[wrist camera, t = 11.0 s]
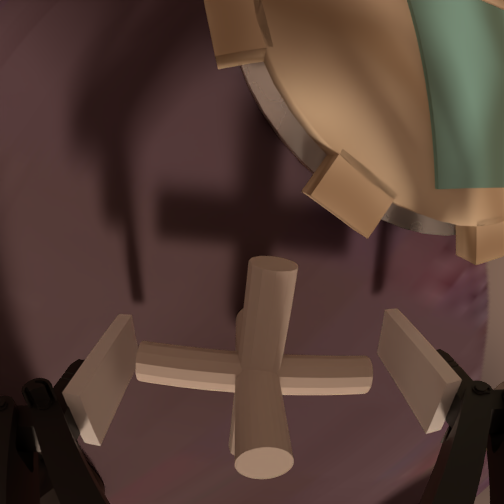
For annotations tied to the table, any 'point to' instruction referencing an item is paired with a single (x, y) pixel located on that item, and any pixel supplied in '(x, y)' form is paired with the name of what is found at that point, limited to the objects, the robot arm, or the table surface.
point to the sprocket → (388, 103)
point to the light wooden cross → (258, 370)
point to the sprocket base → (312, 153)
